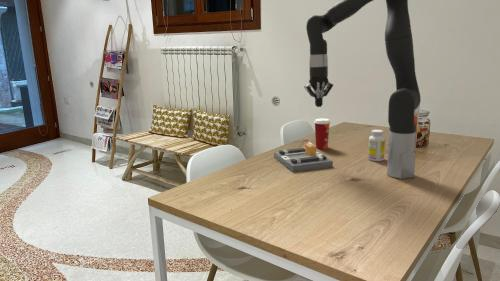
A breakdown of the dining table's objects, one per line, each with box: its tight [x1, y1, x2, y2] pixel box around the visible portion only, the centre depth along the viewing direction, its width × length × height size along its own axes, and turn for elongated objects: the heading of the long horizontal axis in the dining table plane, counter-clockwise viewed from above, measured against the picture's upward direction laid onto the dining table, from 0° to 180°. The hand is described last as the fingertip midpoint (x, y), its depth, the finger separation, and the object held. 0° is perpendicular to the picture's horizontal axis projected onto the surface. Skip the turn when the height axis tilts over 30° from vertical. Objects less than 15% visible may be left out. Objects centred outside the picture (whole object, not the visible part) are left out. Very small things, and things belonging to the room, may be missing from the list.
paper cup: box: [313, 117, 331, 150], centre depth 188 cm, size 8×8×14 cm
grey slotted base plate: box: [279, 147, 327, 164], centre depth 168 cm, size 17×15×4 cm
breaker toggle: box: [304, 141, 317, 156], centre depth 169 cm, size 5×3×5 cm, turn 16°
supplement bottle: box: [367, 129, 386, 162], centre depth 167 cm, size 7×7×13 cm
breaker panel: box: [273, 150, 334, 173], centre depth 168 cm, size 22×18×3 cm
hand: (318, 106), depth 165 cm, fingers closed
